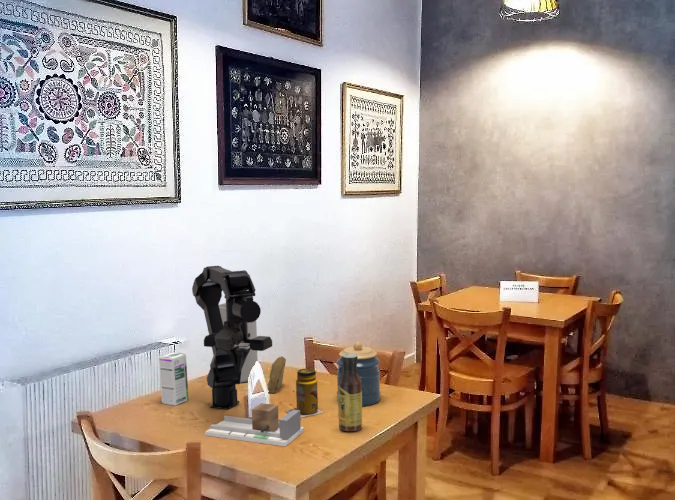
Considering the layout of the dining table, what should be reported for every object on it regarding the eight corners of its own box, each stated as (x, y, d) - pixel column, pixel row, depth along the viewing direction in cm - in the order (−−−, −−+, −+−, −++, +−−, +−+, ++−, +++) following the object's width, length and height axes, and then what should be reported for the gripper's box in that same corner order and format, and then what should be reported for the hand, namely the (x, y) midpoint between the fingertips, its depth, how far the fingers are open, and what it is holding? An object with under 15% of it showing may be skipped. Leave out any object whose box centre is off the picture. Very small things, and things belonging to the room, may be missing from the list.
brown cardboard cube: (246, 436, 166) (245, 413, 166) (261, 425, 174) (261, 403, 173) (263, 438, 165) (263, 415, 164) (278, 427, 172) (278, 405, 172)
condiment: (323, 412, 187) (322, 371, 186) (297, 419, 182) (296, 376, 181) (310, 405, 193) (309, 365, 192) (285, 411, 188) (283, 370, 187)
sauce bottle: (337, 424, 177) (336, 352, 175) (360, 423, 177) (359, 351, 176) (339, 433, 170) (338, 358, 169) (363, 432, 171) (362, 357, 169)
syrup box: (175, 406, 195) (173, 358, 194) (160, 403, 198) (158, 355, 197) (188, 400, 200) (186, 353, 199) (174, 397, 203) (172, 351, 202)
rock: (280, 388, 202) (298, 376, 211) (264, 365, 204) (283, 354, 212) (260, 404, 208) (279, 391, 217) (245, 381, 210) (264, 369, 218)
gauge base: (205, 435, 171) (204, 412, 171) (227, 421, 181) (226, 399, 181) (285, 446, 163) (284, 422, 162) (303, 430, 173) (303, 408, 172)
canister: (382, 394, 203) (382, 337, 201) (377, 407, 190) (377, 347, 188) (341, 392, 205) (339, 336, 203) (333, 406, 192) (332, 346, 191)
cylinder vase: (242, 385, 214) (240, 309, 212) (212, 380, 220) (210, 306, 218) (265, 375, 225) (263, 303, 223) (236, 371, 231) (233, 300, 229)
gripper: (191, 320, 177) (193, 377, 179) (252, 324, 170) (254, 383, 172) (213, 312, 188) (215, 366, 189) (272, 316, 181) (274, 372, 182)
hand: (238, 372), depth 183 cm, fingers closed
